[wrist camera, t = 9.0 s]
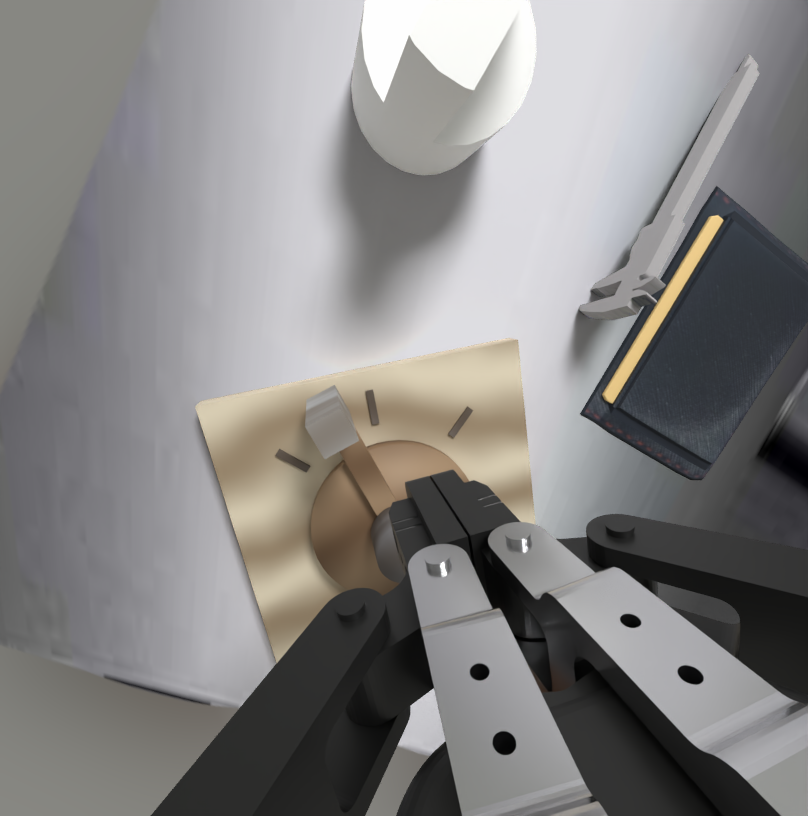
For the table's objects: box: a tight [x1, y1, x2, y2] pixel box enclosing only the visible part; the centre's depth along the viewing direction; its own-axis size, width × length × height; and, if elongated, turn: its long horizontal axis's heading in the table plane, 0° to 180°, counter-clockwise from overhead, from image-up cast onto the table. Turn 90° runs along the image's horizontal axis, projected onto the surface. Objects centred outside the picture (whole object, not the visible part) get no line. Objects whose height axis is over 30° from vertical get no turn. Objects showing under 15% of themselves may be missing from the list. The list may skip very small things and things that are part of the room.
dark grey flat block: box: [580, 186, 808, 480], centre depth 36 cm, size 20×2×15 cm
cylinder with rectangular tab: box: [351, 0, 536, 175], centre depth 22 cm, size 9×9×12 cm
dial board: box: [195, 338, 535, 663], centre depth 33 cm, size 22×22×2 cm
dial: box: [305, 385, 469, 596], centre depth 28 cm, size 17×12×7 cm
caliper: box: [580, 54, 759, 320], centre depth 29 cm, size 21×1×6 cm, turn 147°
